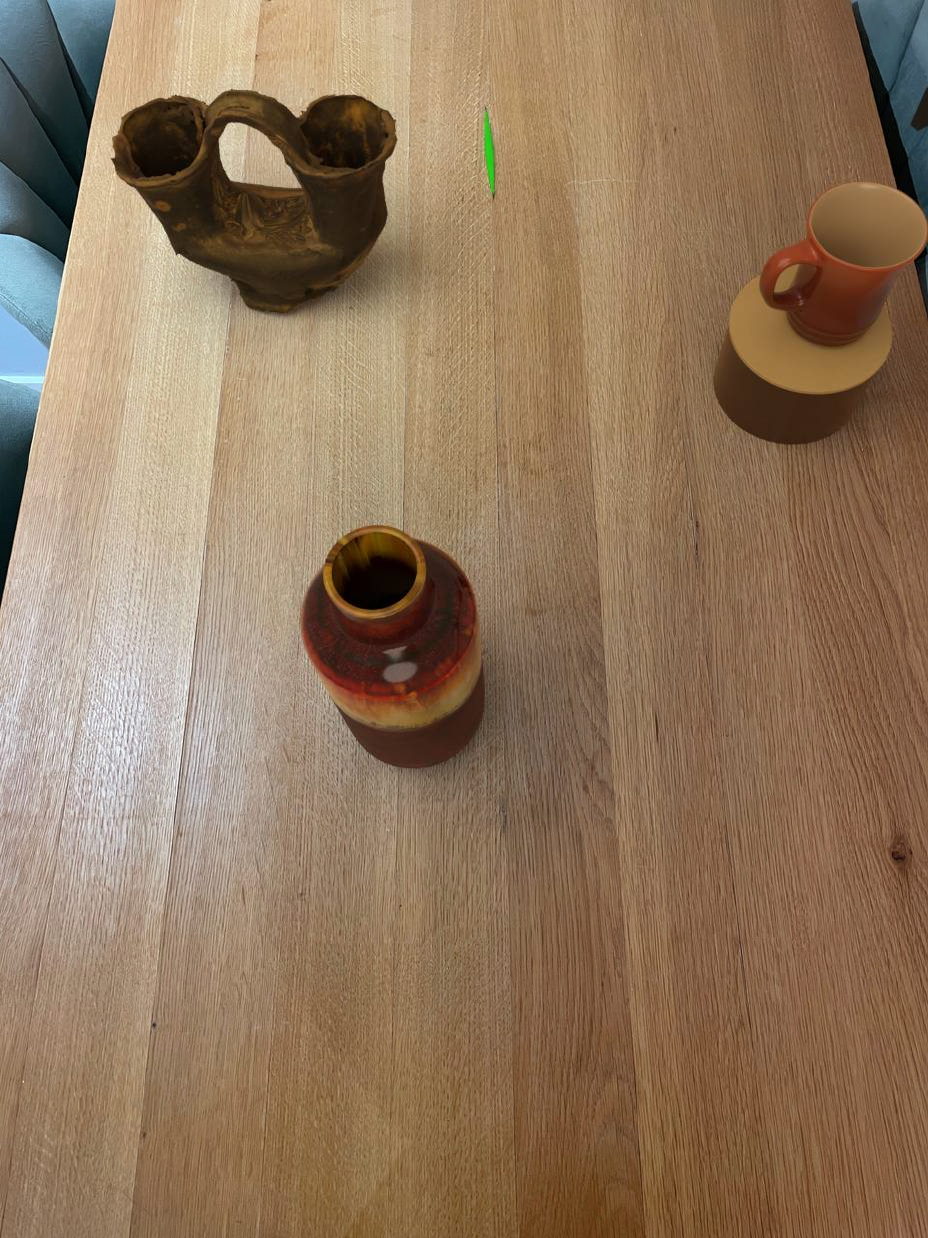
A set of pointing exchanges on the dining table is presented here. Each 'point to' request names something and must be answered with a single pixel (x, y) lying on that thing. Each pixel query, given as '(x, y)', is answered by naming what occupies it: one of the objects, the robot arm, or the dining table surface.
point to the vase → (397, 645)
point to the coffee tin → (791, 371)
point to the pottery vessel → (264, 189)
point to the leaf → (489, 153)
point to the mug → (846, 261)
